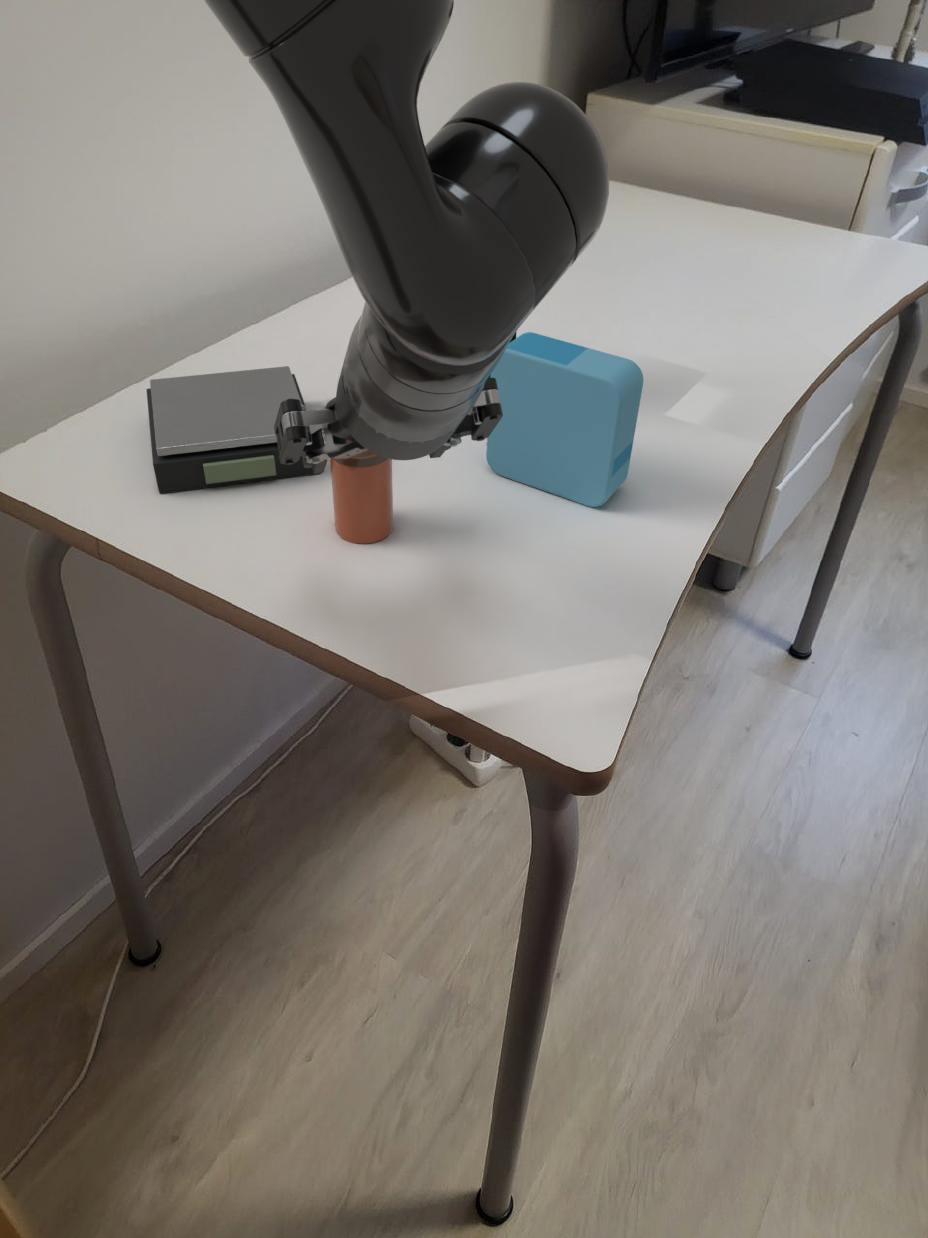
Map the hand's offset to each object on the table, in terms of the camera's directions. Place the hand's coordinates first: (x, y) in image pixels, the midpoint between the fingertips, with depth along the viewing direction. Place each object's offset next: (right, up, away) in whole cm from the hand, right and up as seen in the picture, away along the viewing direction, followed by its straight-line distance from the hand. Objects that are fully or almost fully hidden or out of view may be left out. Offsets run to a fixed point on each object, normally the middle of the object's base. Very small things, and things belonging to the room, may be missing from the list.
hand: (374, 451), depth 68 cm
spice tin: (-2, -4, +10) cm, 11 cm away
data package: (+15, 0, +17) cm, 22 cm away
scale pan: (-15, +7, +17) cm, 24 cm away
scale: (-15, +4, +20) cm, 25 cm away
